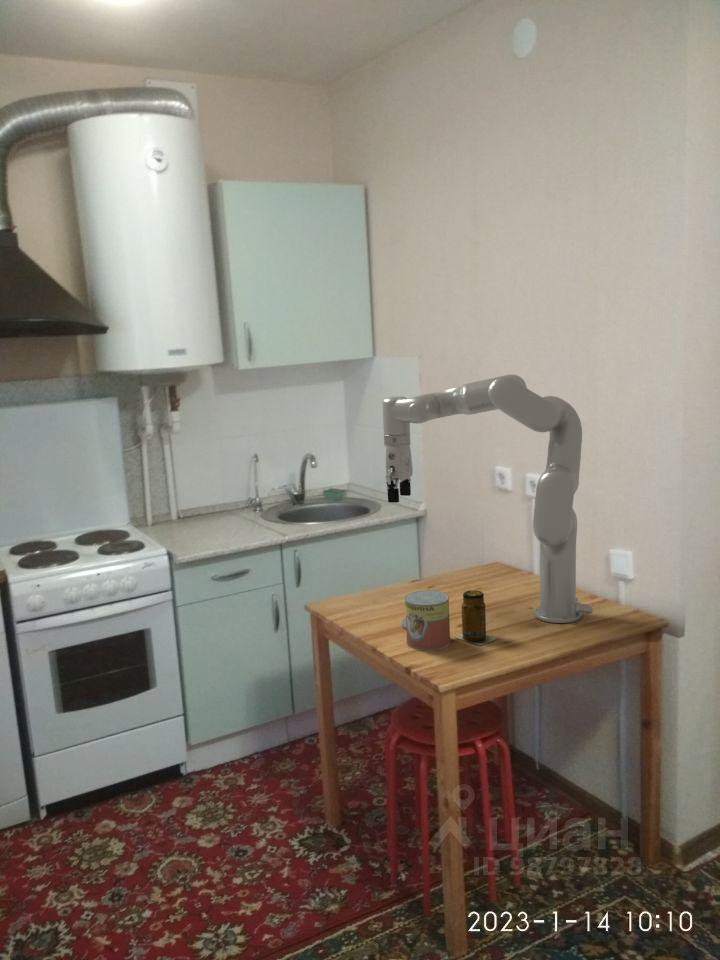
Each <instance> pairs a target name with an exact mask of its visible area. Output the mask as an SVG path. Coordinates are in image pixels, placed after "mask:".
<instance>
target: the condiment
mask: <svg viewBox="0 0 720 960" xmlns="http://www.w3.org/2000/svg"><path fill="white" fill-rule="evenodd" d="M484 596H485V594H484V593H483V591H480V590H475V589H474V590H473V589H472V590H466V591H464V592H463V594H462V603H461V627H462V630H461V632H462V633H461V634H460V635H456V636H455V638H456V639H459V640H461V641H463V642H468V643H471V644H473V645H478V646H483V645H486V644H489V643H491V642H492V641H495V640H497V639H499V638H498V637H496V636H493V635H491V634H488V633H487V623H486V621H487V620H486V619H487V617H486V603H485V599H484V598H485V597H484Z"/></svg>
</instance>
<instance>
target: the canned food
mask: <svg viewBox="0 0 720 960" xmlns="http://www.w3.org/2000/svg"><path fill="white" fill-rule="evenodd" d="M404 608H405V609H404V610H405V618H406V629H405V633H406V643H405V644H406V646H408V647H409V648H411V649H413V650H417V651H422V652H427V651H428V652H430V651H438V650H439V651H440V650H443V649H446V648H447V647H448V646H449V645H451V643H452V641H451V630H450V629H451V626H450V625H451V623H450V620H451V619H450V596H449V595H448V594H447V593H445V592H443V591H439V590H419V591H413V592H410V593H407V594H406V595H405V596H404Z"/></svg>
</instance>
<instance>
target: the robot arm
mask: <svg viewBox="0 0 720 960" xmlns="http://www.w3.org/2000/svg"><path fill="white" fill-rule="evenodd" d="M382 400H383V401H382V425H383V426H382V427H383V446H384V447H385V481H386V491H387V502H388V503H395V504H396V503H397V504H398V503H400V496H401V497H403V496H404V497H406V496H408V497H409V496H411V495H412V493H411V491H412V490H411V488H412V487H411V480H412V479H411V477H412V476H413V473H414V470H413V460H412V459H413V458H412V450H411V445H412V444H411V424H418V425H419V424H423V423H426V422H429V421H432V420H436V419H441V418H445V417H450V416H455V415H457V416H458V415H476V414H481V413H487V412H491V411H495V410H498V411H501V412H503V414H506V415H507V416H508V417H510V418H512V419H513V420H515V421H517V422H518V423H520V424H521V425H523V426H525V427H527V428H528V429H530V430H532V431H534V432H537V433H548V432H549V441H548V445H547V446H548V447H547V459H546V465H545V466H546V467H545V470H544V472H543V473H542V474H541V475H540V476H539V478H538V480H537V484H536V489H535V490H536V491H535V497H534V510H533V520H532V530H533V534H534V536H535V538H536V539H537V540H538V542H539V601H540V602H539V606H538V607H536V608H535V609H534V611H533V613H534V615H533V616H535V618H536V619H538V620H540V621H543V622H547V623H552V624H553V623H554V624H567V623H569V624H570V623H574V622H576V621H579V620H580V619H581V618H582V617H583V613H585V614H591V615H592V614H593V606H591V605H590V604H589V603H581V602H579V598H578V597H577V590H576V589H577V586H576V585H577V584H576V583H577V581H576V580H577V576H576V575H577V571H576V570H577V568H576V564H577V563H576V561H577V533H578V518H577V514H576V512H575V510H574V508H573V506H574V496H575V495H576V492H577V491H578V488H579V485H580V469H581V468H580V467H581V458H582V457H581V456H582V443H583V428H582V426H583V425H582V421H581V419H580V417H579V415H578V412H577V411H576V409H575V408H574V406H572V405H571V404H570V403H569V402H568V401H566V400H564V399H563V398H560V397H558V396H553V395H548V396H547V395H546V396H544V397H542V396H540V395H539V394H537V393H535V392H534V391H531V389H529V388H528V387H527V383H526V381H525V380H524V379H523V378H522V377H521V376H520V375H516V374H505V375H500V376H496V377H491V378H487V379H483V380H478V381H473V382H469V383H465V384H462V385H460V386H458V387H457V386H456V387H454V388H450V389H449V388H448V389H445V390H440V391H436V392H435V391H434V392H430V393H426V394H421V395H418V396H413V397H408V398H407V397H405V396H390V397H385V398H384V399H382ZM410 423H411V424H410ZM398 486H399V488H398Z"/></svg>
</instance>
